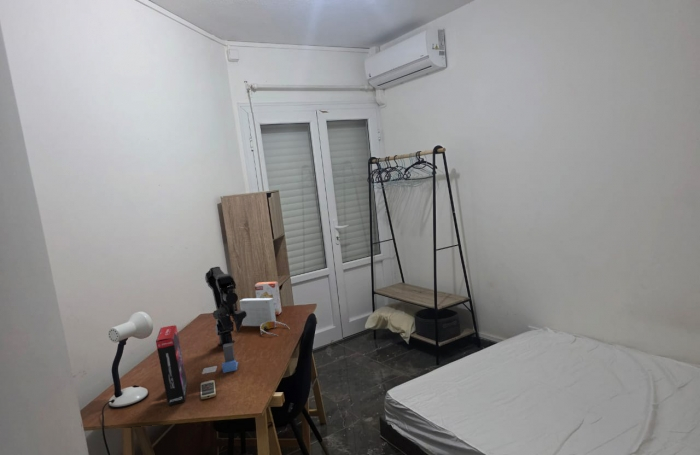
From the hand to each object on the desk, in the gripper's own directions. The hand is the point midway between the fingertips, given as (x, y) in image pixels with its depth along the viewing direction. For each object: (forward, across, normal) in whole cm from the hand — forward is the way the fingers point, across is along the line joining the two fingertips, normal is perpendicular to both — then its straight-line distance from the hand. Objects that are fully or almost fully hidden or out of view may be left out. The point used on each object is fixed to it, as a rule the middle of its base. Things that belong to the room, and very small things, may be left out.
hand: (231, 330), depth 202 cm
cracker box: (+12, -27, +54) cm, 61 cm away
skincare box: (+12, -19, +36) cm, 43 cm away
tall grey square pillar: (+11, +11, -12) cm, 20 cm away
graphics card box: (+12, +9, -39) cm, 42 cm away
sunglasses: (+13, -1, +30) cm, 32 cm away
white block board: (+12, +8, -16) cm, 21 cm away
